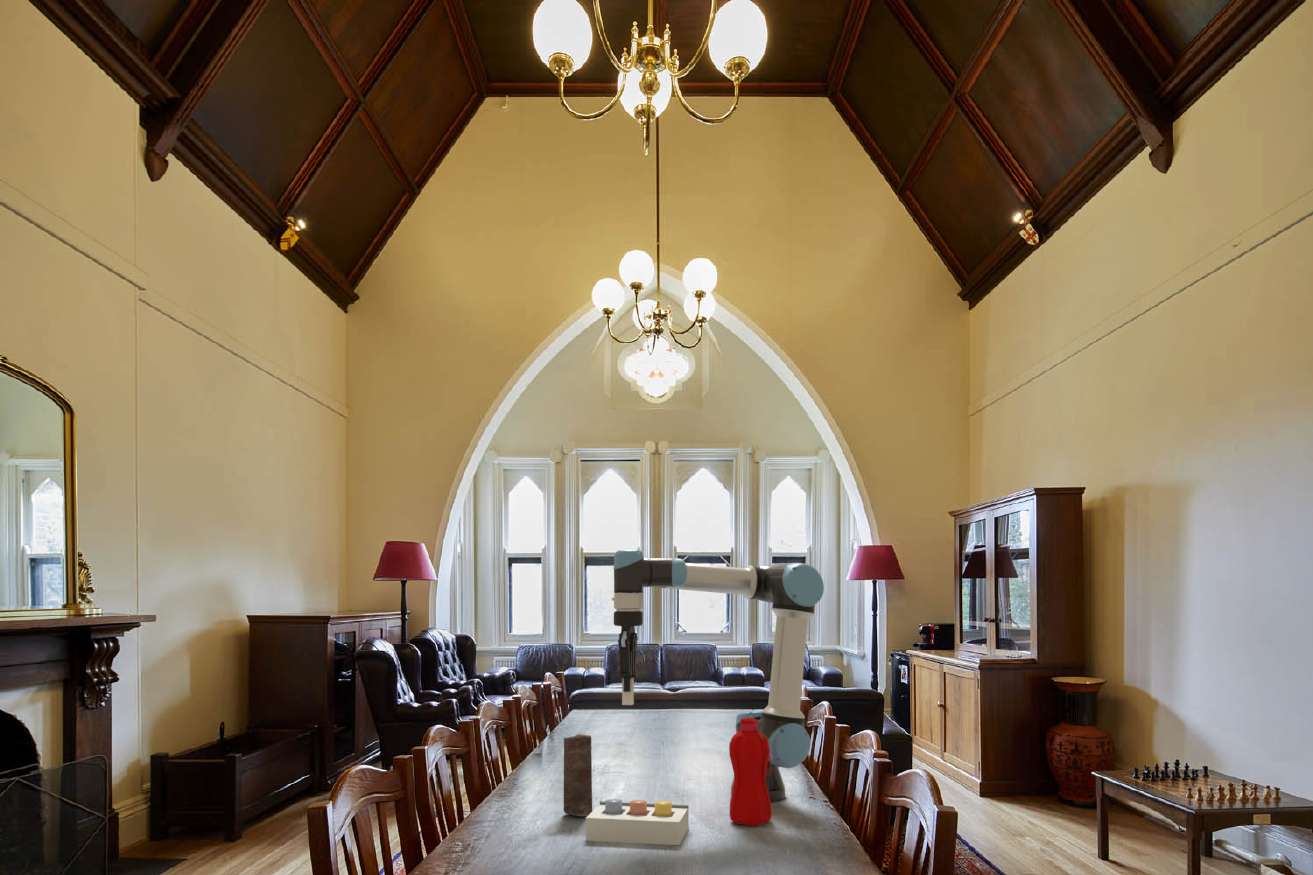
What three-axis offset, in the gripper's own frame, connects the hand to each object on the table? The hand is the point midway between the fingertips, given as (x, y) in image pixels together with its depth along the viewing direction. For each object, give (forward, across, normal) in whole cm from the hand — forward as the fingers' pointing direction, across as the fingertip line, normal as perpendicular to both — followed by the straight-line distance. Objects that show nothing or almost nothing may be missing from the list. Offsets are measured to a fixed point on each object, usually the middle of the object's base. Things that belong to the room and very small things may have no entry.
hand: (627, 704), depth 233 cm
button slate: (+25, +11, -1) cm, 27 cm away
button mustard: (+25, +11, +11) cm, 29 cm away
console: (+28, +11, +5) cm, 31 cm away
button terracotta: (+25, +11, +5) cm, 28 cm away
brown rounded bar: (+29, -4, -14) cm, 32 cm away
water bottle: (+29, -5, +31) cm, 42 cm away
